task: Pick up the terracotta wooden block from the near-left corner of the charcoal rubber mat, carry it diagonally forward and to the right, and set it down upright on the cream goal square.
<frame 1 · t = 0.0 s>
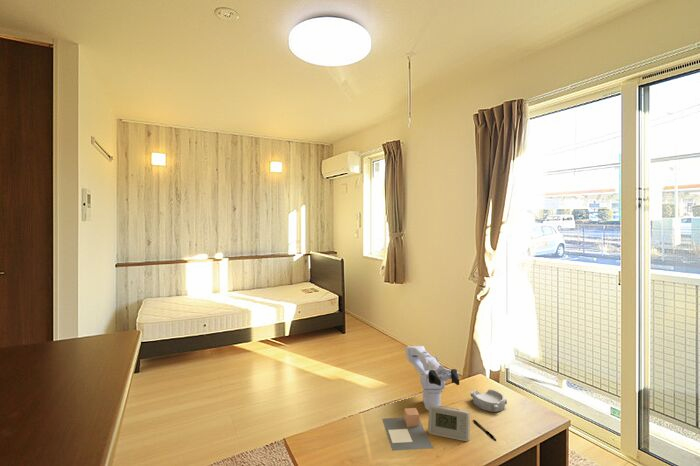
hand: (449, 382, 133), 22 cm above the table, tool horizontal, fingers open, 7 cm apart
digital clock: (448, 436, 134), on the table
dish: (489, 405, 157), on the table
pen: (483, 431, 138), on the table
mat: (406, 434, 135), on the table
block: (411, 422, 141), point 1 cm above the table, touching mat
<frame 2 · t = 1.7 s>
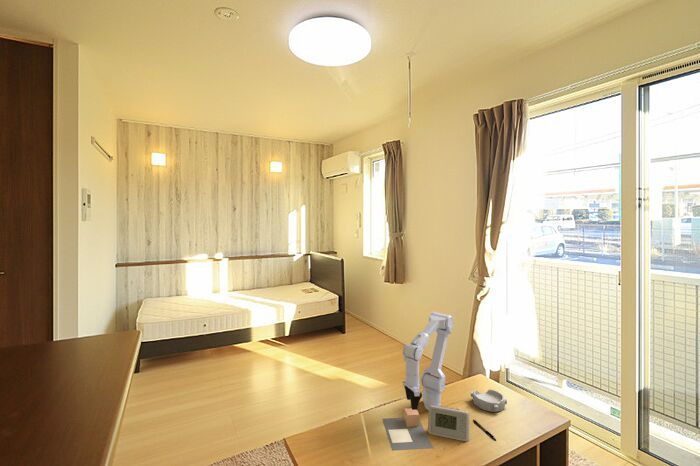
hand: (411, 404, 141), 9 cm above the table, tool pointing down, fingers open, 7 cm apart
nothing on the table moved.
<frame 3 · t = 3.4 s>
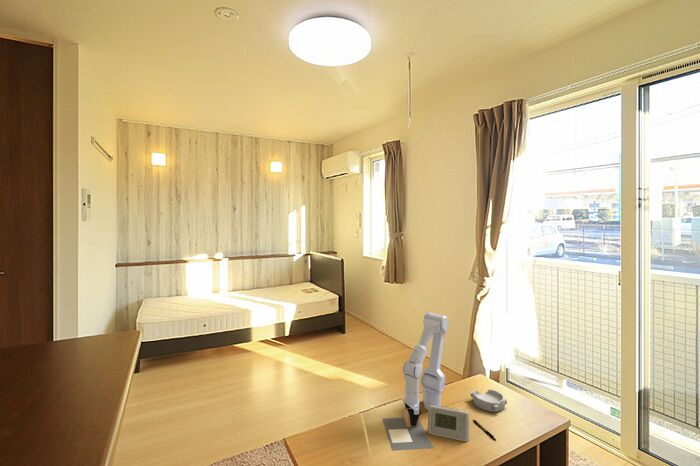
hand: (411, 421, 141), 2 cm above the table, tool pointing down, fingers closed on block, 5 cm apart
block: (411, 422, 141), point 1 cm above the table, touching gripper, mat
everything else where it was.
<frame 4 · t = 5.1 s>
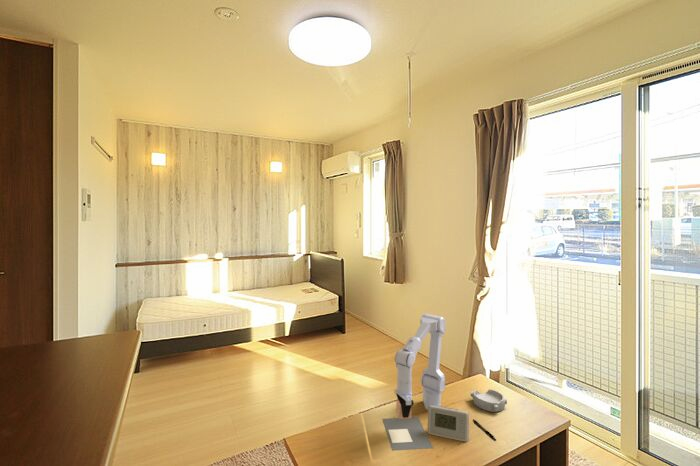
hand: (403, 413, 135), 9 cm above the table, tool pointing down, fingers closed on block, 5 cm apart
block: (403, 414, 135), point 8 cm above the table, touching gripper
everything else where it was.
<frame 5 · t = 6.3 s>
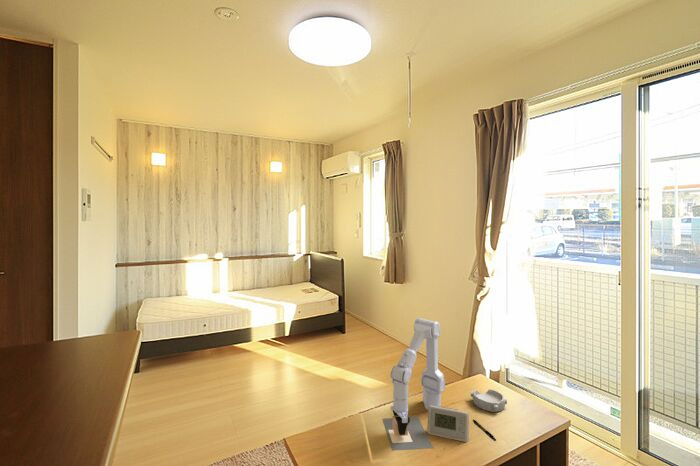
hand: (400, 429, 132), 3 cm above the table, tool pointing down, fingers closed on block, 5 cm apart
block: (400, 431, 132), point 3 cm above the table, touching gripper
everything else where it was.
when the fingers open (3 cm above the table, at t = 7.3 s): block drops 1 cm, resting on mat.
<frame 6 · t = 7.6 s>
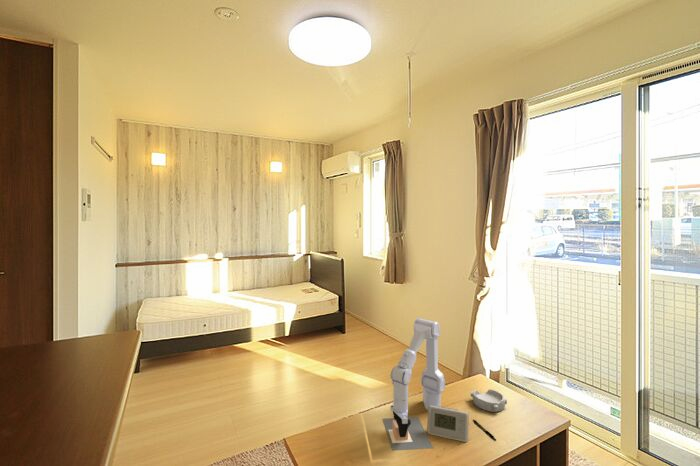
hand: (400, 430, 132), 3 cm above the table, tool pointing down, fingers open, 7 cm apart
block: (400, 435, 132), point 1 cm above the table, touching mat
everything else where it was.
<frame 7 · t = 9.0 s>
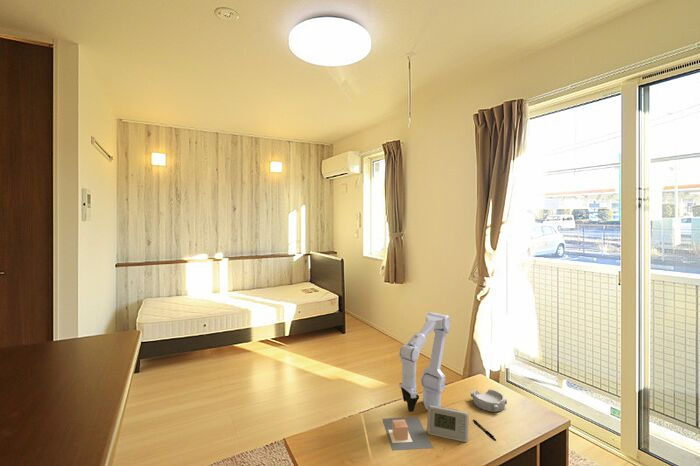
hand: (408, 406, 139), 9 cm above the table, tool pointing down, fingers open, 7 cm apart
nothing on the table moved.
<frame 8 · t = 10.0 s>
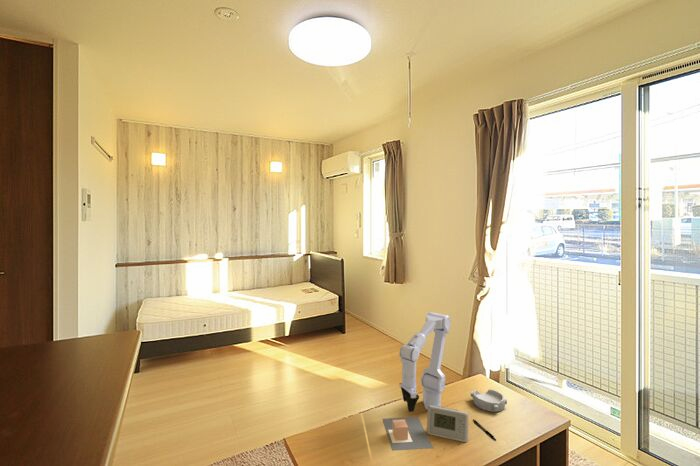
hand: (408, 406, 139), 9 cm above the table, tool pointing down, fingers open, 7 cm apart
nothing on the table moved.
at the end: block 0.0 cm from the target spot, point 0.9 cm above the table; block tilted 0°; the gripper is holding nothing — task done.
